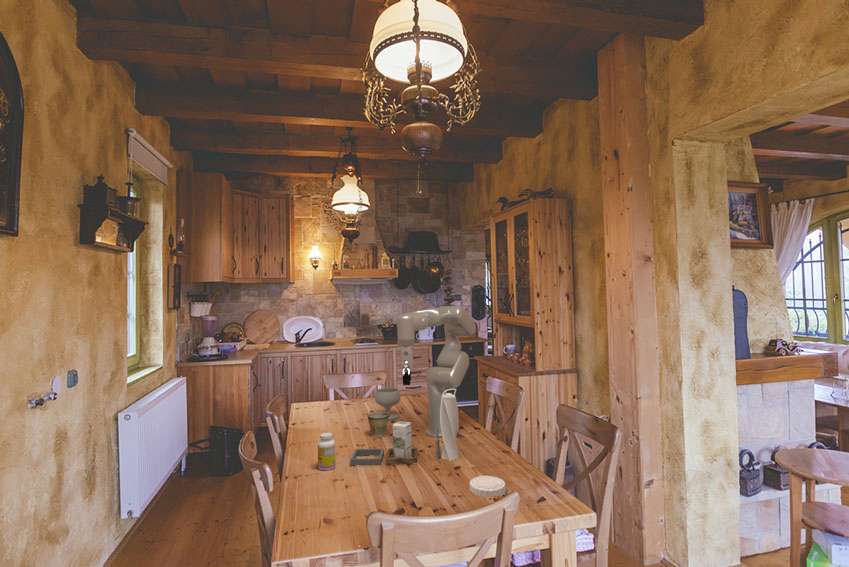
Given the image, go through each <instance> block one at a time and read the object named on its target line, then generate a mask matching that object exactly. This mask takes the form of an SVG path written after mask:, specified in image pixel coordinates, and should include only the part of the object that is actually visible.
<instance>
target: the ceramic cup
mask: <svg viewBox="0 0 849 567" xmlns="http://www.w3.org/2000/svg"><path fill="white" fill-rule="evenodd" d="M389 417H390V414H389V413H386V412H385V411H375V412H374V411H373V412H370V413H368V414H367V420H368V423H369V428H370V433H371V437H372V438H374V437H375V438H374V439H379V438H380V437H381V438H384V437H386V434H387V426H388V421H389V420H388V419H389ZM381 438H380V439H381Z"/></svg>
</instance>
